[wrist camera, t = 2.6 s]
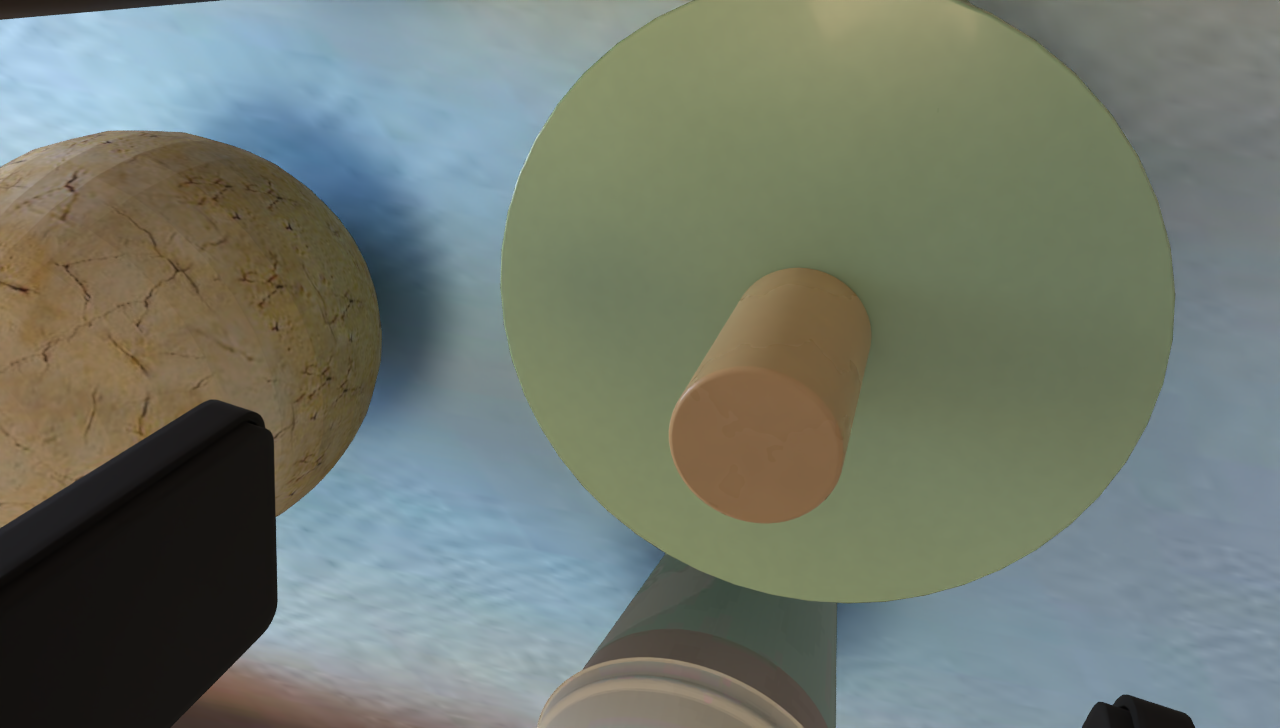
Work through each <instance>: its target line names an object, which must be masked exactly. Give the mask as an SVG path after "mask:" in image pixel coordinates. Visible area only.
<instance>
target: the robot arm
mask: <svg viewBox="0 0 1280 728" xmlns="http://www.w3.org/2000/svg"><path fill="white" fill-rule="evenodd" d="M276 608H277V556H276V511H275V465H274V439H273V435H272V433H271V431H270V430H268V429H266V428H265V423H264V420H263V418H262V416H261V415H260V414H258V413H256V412H254V411H251V410H248V409H245V408H242V407H238V406H235V405H232V404H229V403H226V402H223V401H220V400H212V399H210V400H207V401H205V402H203V403H201V404H199V405H198V406H196V407H194V408H193V409H191V410H190V411H188V412H186V413H185V414H183V415H182V416H180V417H178V418H177V419H175V420H173V421H172V422H170V423H169V424H167V425H165V426H164V427H162V428H161V429H159V430H157V431H156V432H154V433H153V434H151V435H149V436H148V437H146V438H144V439H143V440H141V441H140V442H138V443H136V444H135V445H133V446H132V447H130V448H128V449H127V450H125V451H124V452H122V453H120V454H119V455H117V456H115V457H114V458H112V459H111V460H109V461H107V462H106V463H104V464H103V465H101V466H99V467H98V468H96V469H95V470H93V471H91V472H90V473H88V474H86V475H85V476H83V477H82V478H80V479H78V480H77V481H75V482H74V483H72V484H70V485H69V486H67V487H66V488H64V489H62V490H61V491H59V492H57V493H56V494H54V495H53V496H51V497H49V498H48V499H46V500H45V501H43V502H41V503H40V504H38V505H37V506H35V507H33V508H32V509H30V510H28V511H27V512H25V513H24V514H22V515H20V516H19V517H17V518H16V519H14V520H12V521H11V522H9V523H8V524H6V525H4V526H3V527H1V528H0V728H170V727H171V726H172V725H173V724H174V723H175V722H176V721H177V720H178V719H179V718H180V717H181V716H182V715H183V714H184V713H185V712H186V711H187V710H188V709H189V708H190V707H191V706H192V705H193V704H194V703H195V702H196V701H197V700H198V699H199V698H200V697H201V696H202V695H203V694H204V693H205V692H206V691H207V690H208V689H209V688H210V687H211V686H212V685H213V684H214V683H215V682H216V681H217V680H218V679H219V678H220V677H221V676H222V675H223V674H224V673H225V672H226V671H227V670H228V669H229V668H230V667H231V666H232V665H233V664H234V663H235V662H236V661H237V660H238V659H239V658H240V657H241V656H242V655H243V654H244V653H245V652H246V651H247V650H248V649H249V648H250V647H251V645H252V644H253V643H254V642H255V641H256V640H257V639H258V638H259V637H260V636H261V635H262V634H263V633H264V632H265V631H266V630H267V628H268V627H269V625H270V623H271V622H272V620H273V617H274V615H275V612H276ZM1082 728H1195V726H1194V724H1193V722H1192V720H1191V718H1190V717H1189V716H1188V715H1187V714H1185V713H1183V712H1180V711H1177V710H1173V709H1170V708H1167V707H1164V706H1161V705H1158V704H1155V703H1152V702H1149V701H1146V700H1143V699H1140V698H1136V697H1133V696H1130V695H1122V696H1120V697H1119V698H1118V699H1117V700H1116V701H1115V703H1114V704H1113V705H1110V704H1107V703H1104V702H1098V703H1097V704H1095V705H1094V707H1093V708H1092V710H1091V711H1090V713H1089V715H1088V717H1087V719H1086V721H1085V723H1084V724H1083V726H1082Z"/></svg>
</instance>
